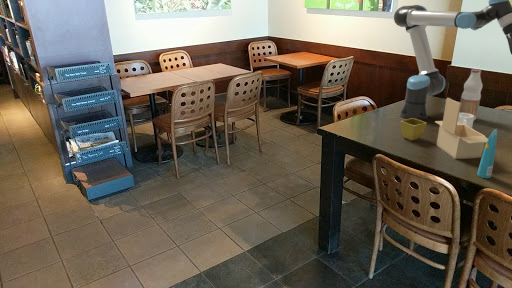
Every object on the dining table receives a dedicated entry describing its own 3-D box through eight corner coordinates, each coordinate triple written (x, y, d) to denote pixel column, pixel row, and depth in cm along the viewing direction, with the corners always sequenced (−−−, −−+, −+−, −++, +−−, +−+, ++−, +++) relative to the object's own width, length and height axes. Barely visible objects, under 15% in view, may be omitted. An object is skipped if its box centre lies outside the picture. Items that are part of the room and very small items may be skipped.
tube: (479, 170, 155) (489, 127, 148) (492, 174, 152) (503, 129, 145) (474, 177, 150) (485, 132, 143) (488, 181, 147) (499, 135, 140)
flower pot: (411, 142, 185) (414, 125, 181) (398, 137, 192) (400, 120, 188) (424, 139, 188) (427, 122, 185) (410, 134, 196) (412, 117, 192)
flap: (441, 127, 174) (446, 97, 169) (443, 127, 174) (448, 97, 169) (453, 134, 165) (459, 103, 160) (455, 134, 165) (461, 103, 160)
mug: (451, 129, 201) (455, 112, 197) (469, 131, 197) (473, 113, 194) (453, 137, 190) (456, 118, 187) (472, 139, 187) (476, 120, 184)
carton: (430, 140, 187) (433, 121, 183) (453, 139, 187) (457, 120, 184) (463, 165, 161) (467, 142, 157) (489, 163, 161) (495, 141, 157)
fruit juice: (460, 120, 213) (469, 71, 203) (455, 115, 222) (464, 68, 211) (478, 121, 212) (489, 71, 201) (472, 116, 220) (482, 68, 210)
